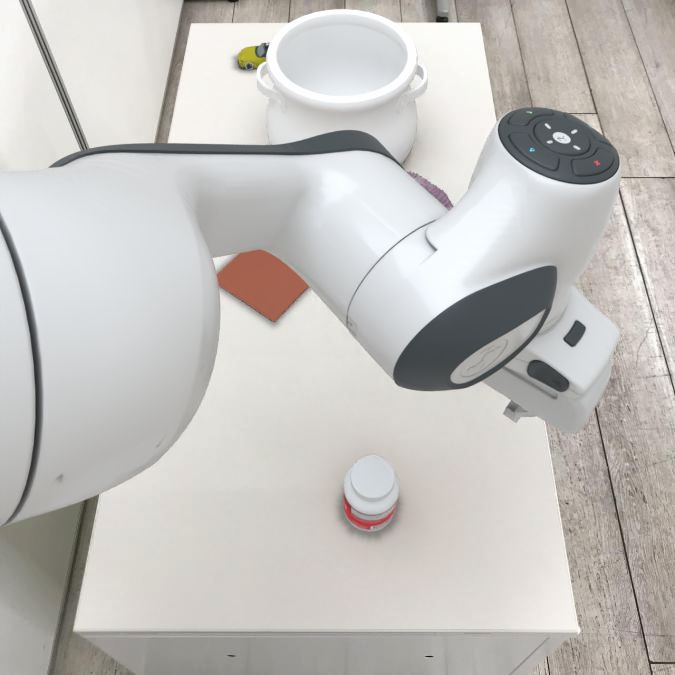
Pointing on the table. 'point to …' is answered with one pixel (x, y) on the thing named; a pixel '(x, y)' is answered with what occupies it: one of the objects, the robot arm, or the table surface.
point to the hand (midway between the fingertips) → (469, 385)
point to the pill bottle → (370, 493)
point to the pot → (343, 79)
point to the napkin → (262, 282)
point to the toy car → (252, 56)
